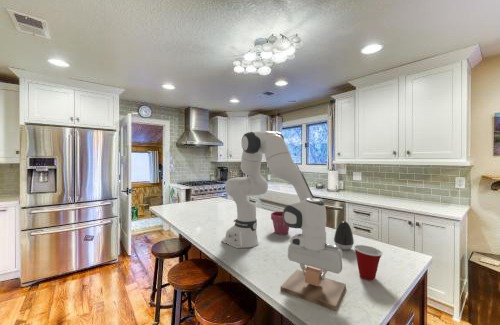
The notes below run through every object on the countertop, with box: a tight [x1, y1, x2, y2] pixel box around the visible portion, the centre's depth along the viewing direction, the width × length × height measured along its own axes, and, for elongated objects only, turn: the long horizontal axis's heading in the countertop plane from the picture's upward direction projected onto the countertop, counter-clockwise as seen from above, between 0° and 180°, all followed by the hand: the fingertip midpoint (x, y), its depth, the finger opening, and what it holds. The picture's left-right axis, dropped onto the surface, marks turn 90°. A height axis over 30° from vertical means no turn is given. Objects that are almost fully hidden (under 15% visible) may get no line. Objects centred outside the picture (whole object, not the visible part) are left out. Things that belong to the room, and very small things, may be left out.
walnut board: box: [280, 269, 347, 312], centre depth 86 cm, size 20×16×2 cm
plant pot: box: [270, 210, 290, 235], centre depth 153 cm, size 14×14×13 cm
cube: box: [305, 265, 323, 286], centre depth 86 cm, size 5×5×5 cm
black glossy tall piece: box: [333, 220, 355, 251], centre depth 126 cm, size 10×10×15 cm
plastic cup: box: [353, 244, 384, 281], centre depth 95 cm, size 11×11×12 cm
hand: (313, 277), depth 86 cm, fingers closed on cube, 5 cm apart
